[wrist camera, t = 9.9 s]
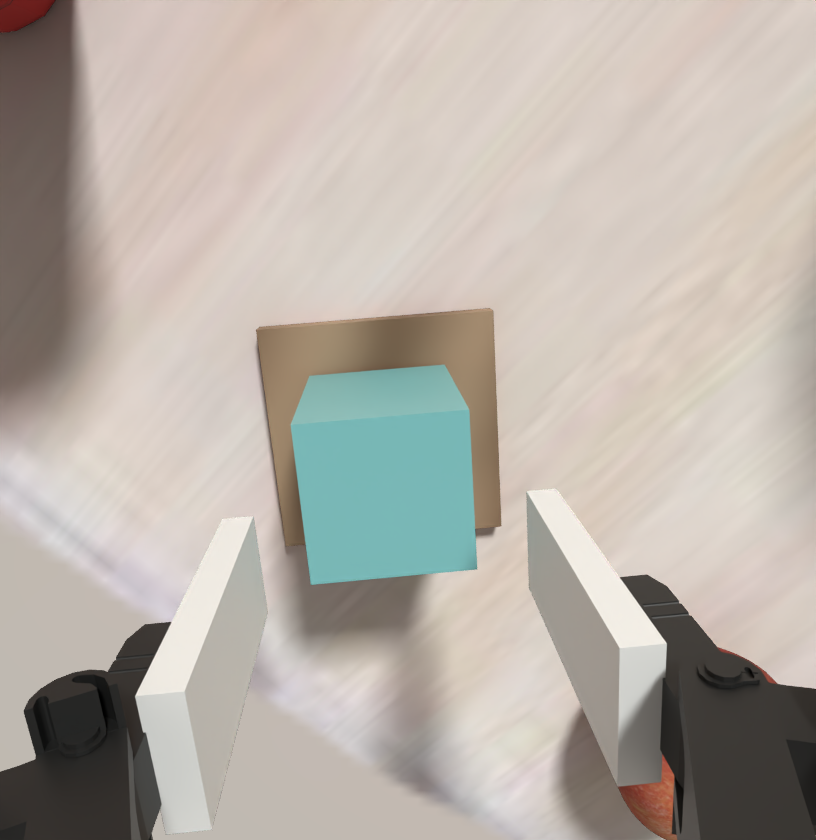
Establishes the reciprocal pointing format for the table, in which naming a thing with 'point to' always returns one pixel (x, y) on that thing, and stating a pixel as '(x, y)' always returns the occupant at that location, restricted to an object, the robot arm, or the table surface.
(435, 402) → the teal rectangular block
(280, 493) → the peg stand
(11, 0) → the plastic cup
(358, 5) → the table surface
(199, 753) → the robot arm
